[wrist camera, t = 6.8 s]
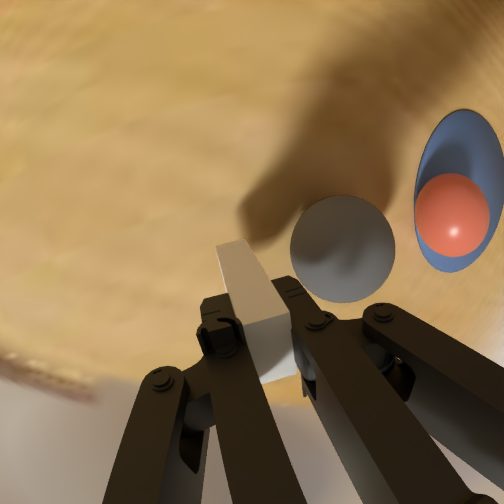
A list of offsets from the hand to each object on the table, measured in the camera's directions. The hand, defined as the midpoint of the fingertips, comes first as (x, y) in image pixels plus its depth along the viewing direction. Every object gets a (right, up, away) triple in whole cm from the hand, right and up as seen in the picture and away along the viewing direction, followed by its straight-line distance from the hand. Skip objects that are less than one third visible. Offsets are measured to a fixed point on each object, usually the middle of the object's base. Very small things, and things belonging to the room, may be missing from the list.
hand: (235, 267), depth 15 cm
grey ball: (+6, +1, 0) cm, 6 cm away
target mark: (+19, +6, +4) cm, 20 cm away
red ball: (+14, +3, +1) cm, 14 cm away
